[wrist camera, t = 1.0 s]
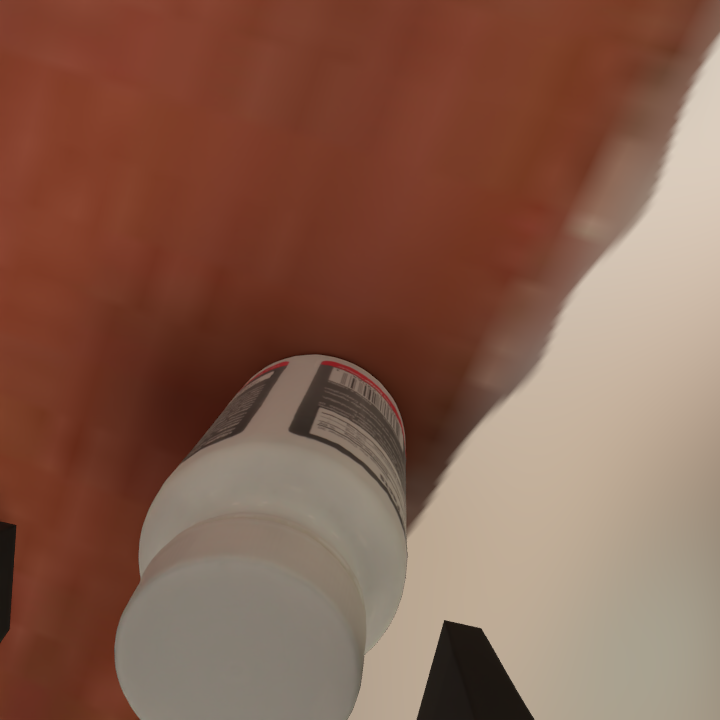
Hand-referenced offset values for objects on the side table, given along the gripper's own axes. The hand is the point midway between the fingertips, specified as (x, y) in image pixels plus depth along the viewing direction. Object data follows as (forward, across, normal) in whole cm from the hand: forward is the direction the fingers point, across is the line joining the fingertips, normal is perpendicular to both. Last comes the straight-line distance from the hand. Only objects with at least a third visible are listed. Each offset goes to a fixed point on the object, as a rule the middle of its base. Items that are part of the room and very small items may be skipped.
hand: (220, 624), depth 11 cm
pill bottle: (+9, 0, 0) cm, 9 cm away
